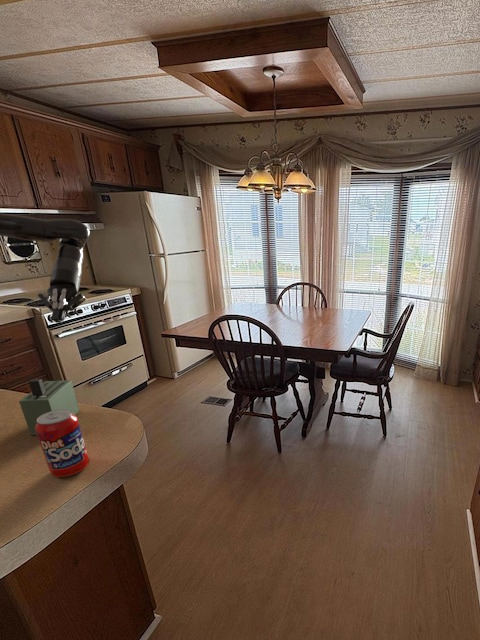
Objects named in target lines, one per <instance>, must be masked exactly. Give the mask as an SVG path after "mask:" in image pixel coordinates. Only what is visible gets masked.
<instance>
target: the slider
mask: <svg viewBox="0 0 480 640" xmlns="http://www.w3.org/2000/svg"><path fill="white" fill-rule="evenodd" d="M43 383H44V382H43V379H42V378H31V379H30V380H28V384H29V389H30V390H31V392H32V394H33V396H43V395H44V394H45V393H46V391H45V388H44V385H43Z"/></svg>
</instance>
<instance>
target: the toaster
mask: <svg viewBox="0 0 480 640" xmlns="http://www.w3.org/2000/svg"><path fill="white" fill-rule="evenodd" d="M43 385H44V388H45V391H46V393H45V394H44V395H43V396H33V394H32V391H31V392H29V393H28V394H26V395H25V396H24V397H23V398H22V399H20V400H19V401H18V402H19V405H20V408H21V412H22V414H23V417H24V420H25V422H26V425H27V426H26V427H27V428H28V431H29V434H30V436H37V433H36V430H35V426H36V424H37V419H38V418H39V417H40V416H41V415H43V414H45V413H48V412H51V411H54V410H61V409H66V410H70V411H71V412H72V414H74V415H75V416H77V415H78V413H79V412H80V411H81V410H80V407H79V403H78V399H77V396H76V393H75V388H74V386H73V382H72V379H69V380H46V381H44V382H43Z"/></svg>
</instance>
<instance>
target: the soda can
mask: <svg viewBox="0 0 480 640" xmlns="http://www.w3.org/2000/svg"><path fill="white" fill-rule="evenodd" d="M35 430H36V433H37V435H36V436H37V438H38V441H39V444H40V448H41V450H42V454H43V456H44V459H45V462H46V465H47V468H48V470H49V473H50V475H52V476H53V477H56V478H64V477H70V476H73V475H76V474H78V473H79V472H82V471H83V470H84V469H86V467H87V466H88V465H89V463H90V458H89V455H88V451H87V450H88V449H87V447H86V443H85V440H84V436H83V434H82V429H81V426H80V422H79V419H78V416H77V415H74V414H72V412H71V411H70V410H66V409H61V410H54V411H51V412H48V413H45V414H43V415H41V416H40V417H39V418H38V419H37V424H36V426H35Z"/></svg>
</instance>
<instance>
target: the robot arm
mask: <svg viewBox="0 0 480 640" xmlns="http://www.w3.org/2000/svg"><path fill="white" fill-rule="evenodd" d="M90 235H91V232H90V229H89V228H88V226H87V225H86V224H85V223H83V222H82V221H79V220H76V219H71V218H58V219H57V218H56V219H55V218H54V219H44V218H37V217H31V216H25V215H18V214H8V213H7V214H6V213H0V237H5V238H11V239H18V240H24V241H31V242H39V243H46V244H47V243H49V244H50V243H53V242H54V241H56V240H58V250H57V253H56V257H55V261H54V263H53V266H52V271H51V276H50V279H49V287H48V289H47V290H46V292H45V293H41V292H40V293H38V294H37V296H38V298H39V300H40V301H42V303H43V304H44V305H45V306H46V307H47V308H48V309H49V310H50V311H51V313H52V314H51V319H52V321H54V322H55V323H57V324H60V323H61V324H62V323H63V322H64V321H65V318H66V314H67V312H68V311H69V312H73V311H75V310H76V309H77V308H78V307H80V305H82V304H83V303H84V302H85V301H86V300H87V298H86V297H85V295H83V294H82V293H81V292H80V285H81V280H82V276H83V264H84V257H85V255H84V248H85V245H86V243H87V242H88V239H89V238H90ZM50 299H51V301H52V303H51V302H50Z"/></svg>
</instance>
